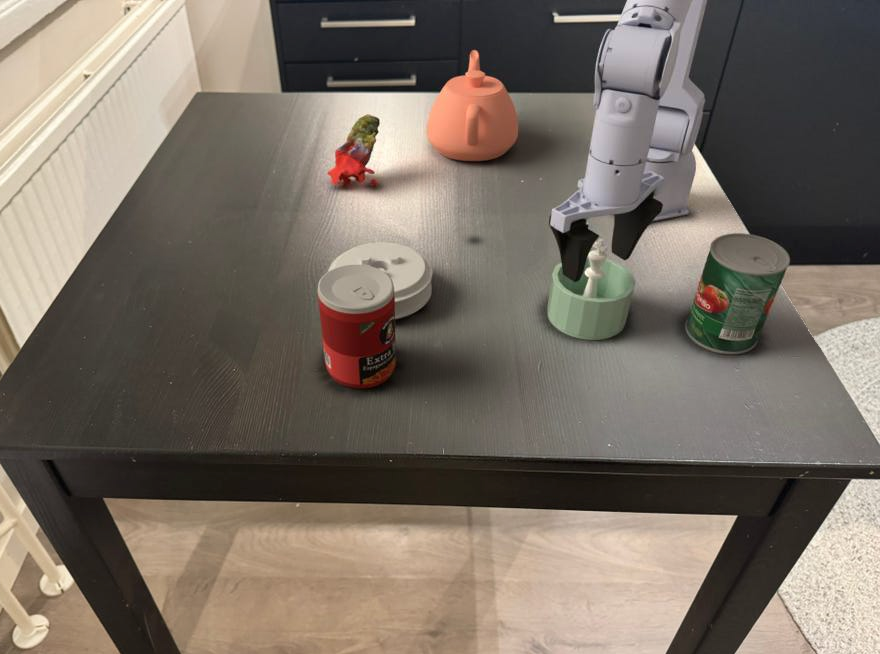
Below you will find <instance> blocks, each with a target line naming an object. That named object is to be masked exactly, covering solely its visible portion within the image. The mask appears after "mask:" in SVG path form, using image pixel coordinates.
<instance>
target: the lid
mask: <svg viewBox="0 0 880 654" xmlns="http://www.w3.org/2000/svg"><path fill="white" fill-rule="evenodd" d="M345 265H367V266H372V267H375V268H378V269H380V270H382V271H384V272H385V273H386V274H388V275H389V276H390V278H391V279H392V281H393V286H394V297H395V320H398V319H401V318H404V317H408V316H410V315H413V314H414V313H416V312H418V311H419V310H421V309H422V308H423V307H424V306H425V305H426V304H428V302H429V301H430V299H431V296H432V292H433V286H432V282H431V281H432V279H433V268H432V265H431V263H430V262H429V260H428V259H427V257H425V256H424V255H423V254H421V253H420V252H418V251H417V250H415V249H413V248H411V247H408V246H406V245H404V244H399V243H395V242H388V241H387V242H385V241H378V242H376V241H375V242H368V243H364V244H359V245H357V246H354V247H352V248H350V249H348V250H346V251H345V252H343V253H342V254H340V255H339V256H337V257H336V258H335V259H334V260H333V261H332V262H331V264H330V265H329V268H328V271H327V272H329V271H330V270H332V269H335V268H337V267H341V266H345Z"/></svg>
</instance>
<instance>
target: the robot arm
mask: <svg viewBox="0 0 880 654" xmlns="http://www.w3.org/2000/svg"><path fill="white" fill-rule="evenodd" d="M707 3H708V0H626V2H625V5H624V6H623V10H622V12H621V15H620V17H619V19H618V22H617V25H616V26H615V28H614V29H611V28H608V29H607V30H606V31H605V33H604V35H603V37H602V39H601V42H600V45H599V49H598V52H597V57H596V62H595V71H594V95H593V96H594V97H593V103H592V104H593V105H592V107H593V108H595V114H594V119H593V120H594V121H593V126H592V131H591V132H592V133H591V138H590V144H589V151H588V157H587V162H586V168H585V175H584V178H580V179H578V181H577V188H579V189H577V190H576V191H575V192H574V193H573V194H572V195H571V196H569V197H568V198H567V199H566V200H565V201H564V202H562V203H561V204H560V205H558V206H556V207H553V208H552V210H551V214H550V215H549V219H548V226H549V229H550V230H551V232H552V234H553V236H554V238H555V241H556V244H557V247H558V251H559V256H560V262H561V263H562V271H563V275H564V276H566V277H567V278H569V279H570V280H572V281H573V282H577V281H579V280H580V279H581V277H582V274H583V271H584V267H585V263H586V260H587V257H588V255H589V253H590V252H591V251H592V250H591V249H592V248H593V244H594V243H595V241H596V242H597V241H598V240H599V238H600V234H598V233H596V232H595V231H593V230H591V229H589V224H588V223H587V220H588V219H590V218H598V217H606V216H612V215H614V218H613V219H614V221H613V231H612V238H611V254H613V255H615V256H616V257H618V258H620V259H621V260H623V261H627V260H629V259H630V257H631V255H632V254H633V252H634V250H635V248H636V246H637V244H638V243H639V241H640V239H641V237H642V236H643V234H644V233H645V231H646V230H647V228H648V227H649V226H650V225H651V223H652V222H655V221H662V220H666V219H670V218H671V219H672V218H675V217H681V216H686V215H688V214H689V213H690V210H689V209H687V205H688V202H689V197H690V194H691V190H692V187H693V184H694V180H695V176H696V172H697V162H696V156H695V154H694V152H693V150H694V146H695V144H696V140H697V137H698V135H699V131H700V128H701V124H702V120H703V114H704V107H705V103H706V99H705V94H704V92H703V91H702V90H701V89H700V88H699V87H698V86H697V85H696V84H695V83H694V82H693V81H692V80H691V78H690V77H689V76H690V72H691V68H692V64H693V59H694V55H695V52H696V48H697V44H698V39H699V36H700V31H701V27H702V23H703V20H704V19H703V18H704V16H705V11H706V8H707V7H706V6H707Z"/></svg>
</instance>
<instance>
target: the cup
mask: <svg viewBox="0 0 880 654" xmlns="http://www.w3.org/2000/svg"><path fill="white" fill-rule="evenodd" d="M589 267H590V261H589V256H588V257H587V260H586V263H585V267H584V271H583V274H582V277H581V279H580V280H579V281H577V282H573V281H572V280H570V279H569V278H567V277H566V276H564V275H563V271H562V263H561V261H560V262H559V263H558V264H556V265H555V267H554V268H553V272H552V274H551V281H550V287H549V293H548V301H547V306H546V308H547V313H546V315H547V318H548V321H549V322H550V323H551V325H552V326H553V327H554V328H556V329H557V330H558V331H559V332H561V333H563V334H565V335H566V336H569V337H572V338H575V339H580V340H584V341H585V340H586V341H599V340H600V341H601V340H606V339H609V338H612V337H615V336H617V335H618V334H619V333H621V332H622V331H623V330H624V328H625V326H626V323H627V319H628V315H629V312H630V308H631V303H632V299H633V296H634V291H635V287H636V280H635V277H634V274H633V273H632V272H631V270H630V269H628V268H627V267H626V266H625V265H623V264H622V263H620V262H617V261H616V260H613V259H610V258H608V257H607V258H606V260H605V262H604V263H603V265H602V267H601V268H600V269H602V270H603V272H604V276H603V277H602V278H600V279H598V281H597V298H598V299H595V298H586V297H583V294H584V291H585V288H586V285H587V283H588V279H589V277H587V276H586V275H585V271H586V269H587V268H589Z"/></svg>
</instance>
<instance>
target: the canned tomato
mask: <svg viewBox="0 0 880 654" xmlns="http://www.w3.org/2000/svg"><path fill="white" fill-rule="evenodd" d="M790 263H791V258H790V255H789V253H788V251H787V250H786V249H785V248H784V247H783V246H781V245H780V244H778V243H776V242H775V241H773V240H770V239H768V238H766V237H763V236H759V235H755V234H751V233H743V232H741V233H740V232H739V233H738V232H735V233H727V234H722V235H720V236H718V237H716V238H715V239H713V241H712V242H711V243H710V247H709V251H708V254H707V257H706V259H705V263H704V265H703V266H704V267H703V269H702V273H701V275H700V280H699V281H698V285H697V288H696V291H695V295H694V297H693V301H692V304H691V307H690V310H689V314H688V317H687V319H686V321H685V325H684V327H685V332H686V335H687V336H688V337H689V338H690V340H692V342H694V343H695V344H697V346H700V348H703V349H705V350H707V351H709V352H713V353H717V354H721V355H740V354H744V353H748V352H750V351H751V350H753V349H754V348H755V347H756V345H757V344H758V339H759V337H760V335H761V333H762V330H763V327H764V325H765V323H766V321H767V318H768V315H769V314H770V310H771V308H772V306H773V304H774V301H775V298H776V296H777V294H778V292H779V289H780V286H781V284H782V282H783V279H784V277H785V274H786V272H787V269H788V267H789V266H790Z"/></svg>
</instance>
